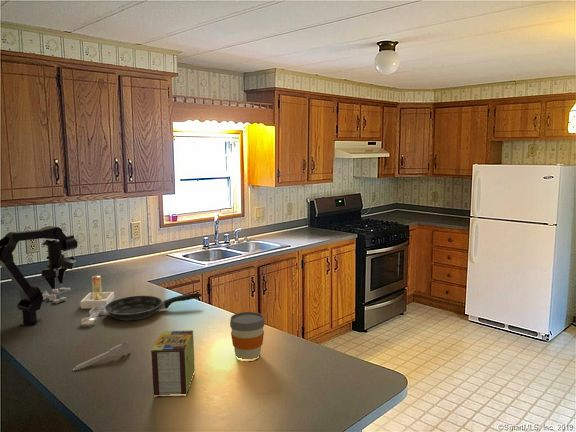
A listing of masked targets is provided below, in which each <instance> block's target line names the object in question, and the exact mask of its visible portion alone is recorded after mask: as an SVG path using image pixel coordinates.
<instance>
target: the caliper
mask: <svg viewBox="0 0 576 432" xmlns="http://www.w3.org/2000/svg"><path fill="white" fill-rule="evenodd" d="M121 342H122V343H120V344H117V345H116V346H113V347H112V348H110V349H109V350H107V351H106V352H103V353H101V354H99V355H97V356H95V357H93V358H90V359H89V360H86V361H84V362H82V363H79V364H78V365H76V366H75V367H74V368H72V370H73V371H72V372H74V370H75V371H79V370H81V368H82V369H85V368H86V367H89V366H91V365H94V364H95V363H97V362H99V361H101V360H103V359H105V358H108V357H110V356H112V357H114V356H116V355H118V354H119V353H122V355H123V356H124V355H126V351H127V354H128V353H132V351H131V344H130V342H129V341H127V339H124V341H123V340H121ZM125 349H126V351H125ZM126 356H127V355H126ZM78 369H79V370H78Z"/></svg>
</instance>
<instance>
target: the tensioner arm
mask: <svg viewBox="0 0 576 432" xmlns="http://www.w3.org/2000/svg"><path fill="white" fill-rule="evenodd" d="M105 307H106V306H94V307H93V308H90V310H89V311H88V316H86V317H83V318H81V320H80V322H81V327H82V326H83V328H91V327H94V326H96V325H97V320H98V319H99V317H100V316H105V315H106V314H107V313H108V312H107V311H106V309H105ZM97 318H98V319H97ZM95 324H96V325H95ZM93 325H94V326H93ZM90 326H91V327H90Z"/></svg>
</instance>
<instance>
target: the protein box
mask: <svg viewBox="0 0 576 432" xmlns="http://www.w3.org/2000/svg"><path fill="white" fill-rule="evenodd" d="M157 338H158V339H157V340H156V342H155V343H154V345H153V347H152V348H151V349H150V351H151V352H150V354H151V369H152V370H151V371H152V388H153V391H152V392H153V396H154V395H170V394H187V391H188V388H189V385H190V382H191V379H192V376H193V373H194V371H195V372H196V370H195V347H194V345H195V344H194V330H162V331H161V333H160V334H159V337H157ZM191 383H192V382H191ZM190 386H191V385H190ZM189 389H190V388H189ZM188 392H189V391H188ZM187 395H188V394H187Z"/></svg>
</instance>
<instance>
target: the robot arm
mask: <svg viewBox="0 0 576 432" xmlns="http://www.w3.org/2000/svg"><path fill="white" fill-rule="evenodd" d="M39 239H45V241H44V242H42V245H43V246H47V256H46V260H48V265H46V266H47V267H45V268H44V269H42V271H41V273H40V274H41V277H43V278H44V279H45V281H46V282H47V283H48V285H49V287H50V288H51V289H56V282H57V281H56V280H58V282H59V284H63V283H64V277H65V275H66V271H67V270H68V269H69V270H72V269H75V266H76V264H77V259H76V257H75V256H70V257H65V254H63V252H68V251H73V250H77V248H78V245H79V244H78V241H77V239H76V238H75V236H74V235H73V234H70V235H66V234H65V233H64V232H63V229H62V228H61V227H60V226H51V225H48V226H44V227H41V228H39V229H34V230H32V229H31V230H23V231H10V232H7V233H6V234H5V235H4V236H3V237H1V238H0V267H1V268H2V269H3V270H4V272H5V273H6V274H7V275H8V277H9V278H10V280H11V281H12V283H13V284H14V285H15V288H17V290H18V291H19V297H20V298H21V299H20V301H19V302H18V303H17V305H16V307H17V310H20V311H21V316H22V322H21V323H19V326H21V327H22V326H35V325H37V324H38V323H39V322H40V321H41V320H42V319H41V318H38V311H39V310H40V309H41V308H42V303H43V301H44V300H43V295H42V294H43V293H42V292H41V291H42V290H41V289H40V288H39V287H38V286H35V285H31V284H30V283H29V281H28V280H27V279H26V277H25V276H24V275H23V273H22V272H21V270H20V269H19V267H18V266H17V264H16V263H15V260H14V255H13V252H14V251H15V250H16V247H17V245H18V243H19V242H21V241H31V240H39ZM62 251H63V252H62Z"/></svg>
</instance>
